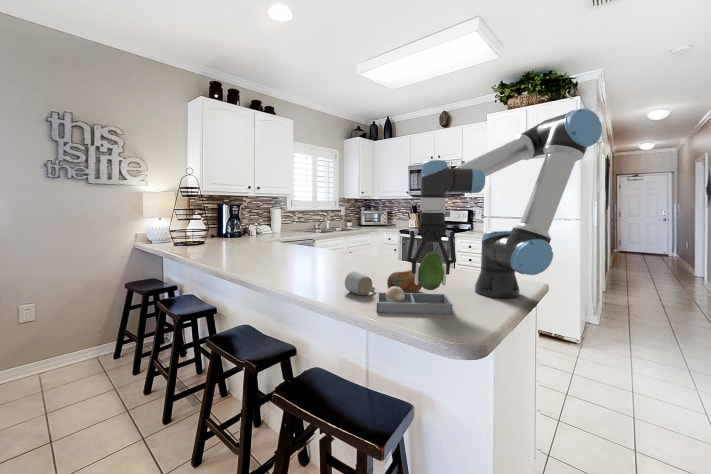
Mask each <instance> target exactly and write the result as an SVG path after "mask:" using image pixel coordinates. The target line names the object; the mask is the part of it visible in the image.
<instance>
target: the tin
mask: <svg viewBox="0 0 711 474" xmlns="http://www.w3.org/2000/svg"><path fill="white" fill-rule="evenodd" d="M386 283H387V284H386V285H387V290H388V289H389V288H391V287H393V286H396V287H399V288H401V289H402V290H403V292H404V293H418V292H419V291H420V290H421V289H422V288H423V287H422V286H421V285H420V283H419V280H418V285H415V274H412V269H411V270H408V269H407V270H403V271H402V270H401V271H395V272H392V273H391V274H390V275H389V276H388V278H387V282H386Z"/></svg>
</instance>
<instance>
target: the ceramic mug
mask: <svg viewBox="0 0 711 474" xmlns="http://www.w3.org/2000/svg"><path fill="white" fill-rule="evenodd" d="M344 287H345V289H346V290H347V291H348V292H350V293H353V294H356V295H358V296H367V295H369V294H370V292H375V291H376V287H374V286H373V280H372V279H371V277H370V276H368V275H365V274H363V273H360V272H359V271H358V272H357V271H351V272H349V273H348V274H347V275H346V277H345V280H344Z"/></svg>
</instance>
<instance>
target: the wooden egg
mask: <svg viewBox="0 0 711 474" xmlns="http://www.w3.org/2000/svg"><path fill="white" fill-rule="evenodd" d="M385 293H386V300H387V301H388V302H393V303H402V302H403V300H404V297H405V295H404V292H403V290H402V289H401V288H399V287H396V286H393V287H391V288H389V289H388V288H387V290H386V291H385Z"/></svg>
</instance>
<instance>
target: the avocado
mask: <svg viewBox="0 0 711 474" xmlns="http://www.w3.org/2000/svg"><path fill="white" fill-rule="evenodd" d="M442 279H443V268H442V260H441V257H440V256H439V253H437V252H432V251H431V252H430V251H429V252H428V253H426V254H425V255H424V257H423V258H422V260H421V262H420V263H419V269H418V280H419V283H420V285H421V286H422V288H423V289H424V290H427V291H434V290H436V289H438V288H440V286H441V285H442Z"/></svg>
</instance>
